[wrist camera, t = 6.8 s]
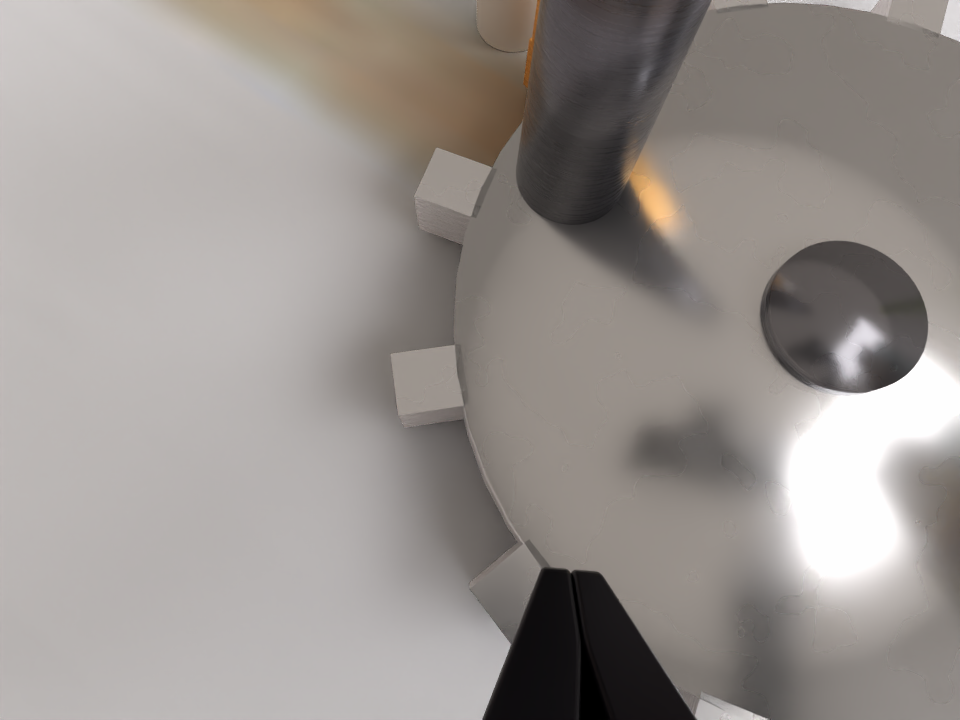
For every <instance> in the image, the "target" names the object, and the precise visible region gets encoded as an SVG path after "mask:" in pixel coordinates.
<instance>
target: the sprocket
mask: <svg viewBox="0 0 960 720" xmlns="http://www.w3.org/2000/svg"><path fill="white" fill-rule="evenodd" d="M947 4H948V0H879V1H878V3H877V4H876V5H875V7H874V8H873V9H872V10H871V12H866V11H860V10H854V9H848V8H842V7H836V6H829V5H816V4H798V3H770V4H767V0H537V5H536V13H535V20H534V27H533V34H532V38H530V39H529V45H528V53H527V60H526V68H525V75H524V83H523V84H524V85H525V86H526V87H527V95H526V102H525V109H524V116H523V121H522V122H521V124H520V125H519V127H518V128H517V129H516V131H515V132H514V134H513V135H512V136H511V138H510V139H509V141H508V142H507V143H506V145H505V146H504V148H503V149H502V150H501V152H500V153H499V155H498V157H497V159H496V161H495V163H494V165H493V167H490V166H487V165H484V164H482V163H479V162H476V161H473V160H471V159H468V158H465V157H462V156H460V155H457V154H454V153H451V152H448V151H446V150H443V149H440V148H437V147H436V149H435V152H434V154H433V156H432V158H431V160H430V162H429V165H428V167H427V169H426V171H425V173H424V175H423V178H422V180H421V182H420V184H419V186H418V188H417V191H416V193H415V195H414V199H415V205H416V212H417V219H418V226H419V229H421V230H424V231H427V232H429V233H432V234H435V235H438V236H440V237H443V238H446V239H448V240H451V241H454V242H456V243H459V244H462V245H463V246H462V251H461V256H460V261H459V266H458V271H457V276H456V289H455V306H454V324H453V328H454V345H448V346H441V347H434V348H427V349H420V350H413V351H406V352H398V353H391V354H390V355H391V363H392V371H393V379H394V387H395V395H396V403H397V411H398V416H399V418H400V420H401V422H402V424H403V425H404V427H405V428H407V427H414V426H420V425H427V424H434V423H441V422H448V421H454V420H461V419H464V422H465V426H466V431H467V436H468V439H469V442H470V444H471V447H472V450H473V453H474V456H475V458H476V461H477V464H478V467H479V469H480V472H481V475H482V478H483V481H484V483H485V485H486V487H487V489H488V491H489V493H490V495H491V497H492V499H493V500H494V502H495V504H496V506H497V508H498V510H499V512H500V514H501V516H502V518H503V520H504V522H505V524H506V526H507V527H508V529H509V530H510V532H511V533H512V535H513V536H514V538H515V539H516V540H517V543H516V544H515V545H514V546H512V547H511V548H510V549H509V550H508V551H506V552H505V553H504V554H503V555H502V556H500V557H499V558H498V559H497V560H496V561H495V562H493V563H492V564H491V565H490V566H489V567H487V568H486V569H485V570H484V571H483V572H481V573H480V574H479V575H478V576H477V577H476V578H474V579H473V580H472V581H471V582H470V583H469V587H470V590H471V592H472V593H473V594H474V595H475V597H476V598H477V599H478V601H479V602H480V603H481V605H482V606H483V607H484V609H485V610H486V611H487V613H488V614H489V615H490V617H491V618H492V619H493V621H494V622H495V623H496V625H497V626H498V627H499V629H500V630H501V631H502V632H503V634H504V635H505V636H506V638H507V639H508V640H509V642H510V643H511V644H512V642H513V639H514V637H515V634H516V632H517V629H518V626H519V624H520V621H521V619H522V616H523V614H524V611H525V608H526V606H527V603H528V601H529V598H530V596H531V593H532V591H533V588H534V585H535V583H536V580H537V578H538V575H539V573H540V570H541V569H542V568H543V567H554V568H565V569H568V570H569V571H570V573H571V572H572V571H573V570H576V569H577V570H588V571H597V572H599V573H601V574H602V575H603V577H604V578H605V580H606V581H607V583H608V584H609V586H610V587H611V589H612V590H613V592H614V593H615V595H616V596H617V598H618V599H619V601H620V602H621V604H622V606H623V607H624V609H625V610H626V612H627V613H628V615H629V616H630V618H631V619H632V621H633V622H634V624H635V625H636V627H637V628H638V630H639V631H640V633H641V635H642V636H643V638H644V639H645V641H646V642H647V644H648V645H649V647H650V648H651V650H652V651H653V653H654V654H655V656H656V657H657V659H658V660H659V662H660V663H661V665H662V667H663V668H664V670H665V671H666V673H667V674H668V676H669V677H670V679H671V680H672V682H673V683H674V685H675V686H676V688H677V689H678V691H679V692H680V694H681V695H682V697H683V699H684V700H685V702H686V703H687V705H688V706H689V708H690V709H691V711H692V712H693V714H694V715H695V717H696V718H697V720H960V42H958V41H956V40H954V39H951V38H949V37H946V36H944V35H941V34H940V32H941V28H942V24H943V20H944V16H945V12H946V8H947Z"/></svg>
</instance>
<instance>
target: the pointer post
mask: <svg viewBox="0 0 960 720" xmlns="http://www.w3.org/2000/svg"><path fill="white" fill-rule="evenodd" d="M536 5H537V0H477V16H476V23H477V29H478V32H479V34H480V35H481V37H482V38H483V39H484V41H485V42H487V43H488V44H489V45H490V46H492V47H494V48H496V49H498V50H501V51H506V52H521V51H525V50H527V49H528V45H529V39H530V38H532V34H533V27H534V20H535V13H536Z"/></svg>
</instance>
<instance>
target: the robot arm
mask: <svg viewBox="0 0 960 720" xmlns="http://www.w3.org/2000/svg"><path fill="white" fill-rule="evenodd" d="M482 720H697V718H696V717H695V715H694V714H693V712H692V711H691V709H690V708H689V706H688V705H687V703H686V702H685V700H684V699H683V697H682V695H681V694H680V692H679V691H678V689H677V688H676V686H675V685H674V683H673V682H672V680H671V679H670V677H669V676H668V674H667V673H666V671H665V670H664V668H663V667H662V665H661V663H660V662H659V660H658V659H657V657H656V656H655V654H654V653H653V651H652V650H651V648H650V647H649V645H648V644H647V642H646V641H645V639H644V638H643V636H642V635H641V633H640V631H639V630H638V628H637V627H636V625H635V624H634V622H633V621H632V619H631V618H630V616H629V615H628V613H627V612H626V610H625V609H624V607H623V606H622V604H621V602H620V601H619V599H618V598H617V596H616V595H615V593H614V592H613V590H612V589H611V587H610V586H609V584H608V583H607V581H606V580H605V578H604V577H603V575H602V574H601V573H599V572H597V571H588V570H577V569H576V570H573V571H572V572H571V573H570V571H569V570H568V569H565V568H554V567H543V568H542V569H541V570H540V573H539V575H538V578H537V580H536V583H535V585H534V588H533V591H532V593H531V596H530V598H529V601H528V603H527V606H526V608H525V611H524V614H523V616H522V619H521V621H520V624H519V626H518V629H517V632H516V634H515V637H514V639H513V642H512V644H511V647H510V649H509V652H508V655H507V657H506V660H505V662H504V665H503V667H502V670H501V673H500V675H499V678H498V680H497V683H496V685H495V688H494V690H493V693H492V696H491V698H490V701H489V703H488V706H487V708H486V711H485V714H484V716H483V719H482Z"/></svg>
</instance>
